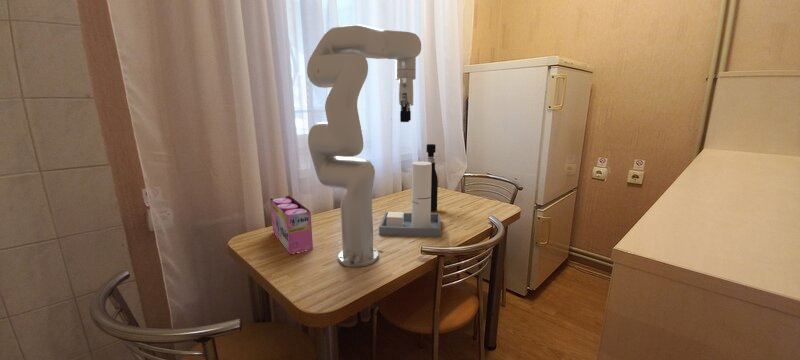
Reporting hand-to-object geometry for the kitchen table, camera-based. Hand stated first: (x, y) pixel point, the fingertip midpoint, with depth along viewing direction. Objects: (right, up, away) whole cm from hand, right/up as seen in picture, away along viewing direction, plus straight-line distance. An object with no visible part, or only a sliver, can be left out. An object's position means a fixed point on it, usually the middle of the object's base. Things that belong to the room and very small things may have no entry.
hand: (405, 121), depth 125 cm
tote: (+2, -42, -2) cm, 42 cm away
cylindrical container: (+6, -41, -3) cm, 42 cm away
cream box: (-4, -41, -2) cm, 41 cm away
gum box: (-41, -45, -11) cm, 61 cm away
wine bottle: (+11, -37, +18) cm, 43 cm away
